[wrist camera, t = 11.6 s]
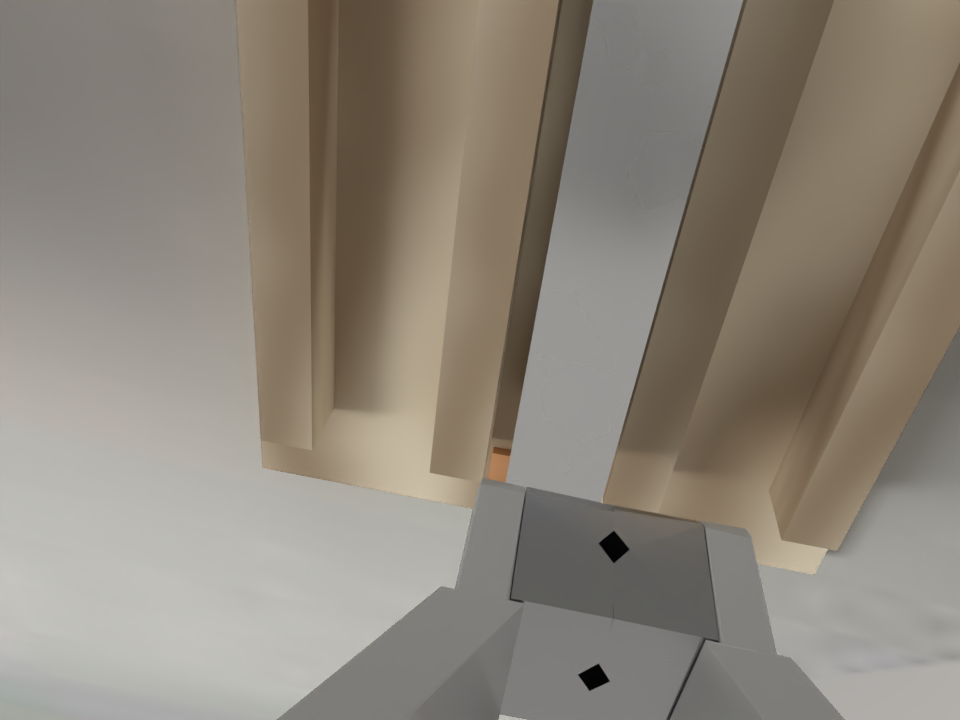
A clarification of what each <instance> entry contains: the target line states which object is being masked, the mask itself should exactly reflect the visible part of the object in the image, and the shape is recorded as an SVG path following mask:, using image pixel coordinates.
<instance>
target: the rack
mask: <svg viewBox="0 0 960 720" xmlns="http://www.w3.org/2000/svg"><path fill="white" fill-rule="evenodd" d="M592 4H593V0H236V16H237V33H238V50H239V68H240V85H241V103H242V120H243V137H244V155H245V172H246V190H247V207H248V224H249V242H250V259H251V277H252V294H253V311H254V329H255V346H256V364H257V381H258V398H259V416H260V433H261V451H262V468H266V469H271V470H276V471H281V472H287V473H292V474H297V475H302V476H307V477H312V478H318V479H323V480H328V481H333V482H338V483H343V484H348V485H354V486H359V487H364V488H369V489H374V490H379V491H385V492H390V493H395V494H400V495H405V496H410V497H416V498H421V499H426V500H431V501H436V502H441V503H446V504H452V505H457V506H462V507H467V508H472V509H473V508H474V503H475V499H476V495H477V490H478V486H479V484H480V482H481V480H482V478H487V479H491V480H496V481H500V482H505V483H506V477H507V472H508V466H509V460H510V455H511V449H512V444H513V438H514V433H515V427H516V422H517V416H518V410H519V405H520V399H521V394H522V388H523V383H524V377H525V372H526V366H527V361H528V355H529V350H530V344H531V339H532V333H533V328H534V322H535V317H536V311H537V306H538V300H539V295H540V289H541V284H542V278H543V273H544V267H545V262H546V256H547V251H548V245H549V240H550V234H551V229H552V223H553V218H554V212H555V207H556V202H557V196H558V191H559V185H560V180H561V174H562V169H563V163H564V158H565V152H566V147H567V141H568V136H569V130H570V125H571V119H572V114H573V108H574V103H575V97H576V92H577V86H578V81H579V75H580V70H581V64H582V59H583V53H584V48H585V42H586V37H587V31H588V26H589V20H590V15H591V9H592ZM959 327H960V0H743V3H742V6H741V10H740V13H739V17H738V21H737V24H736V28H735V31H734V35H733V38H732V42H731V45H730V49H729V52H728V56H727V59H726V63H725V67H724V70H723V74H722V77H721V81H720V84H719V88H718V91H717V95H716V98H715V102H714V105H713V109H712V113H711V116H710V120H709V123H708V127H707V130H706V134H705V137H704V141H703V144H702V148H701V151H700V155H699V159H698V162H697V166H696V169H695V173H694V176H693V180H692V183H691V187H690V190H689V194H688V197H687V201H686V205H685V208H684V212H683V215H682V219H681V222H680V226H679V229H678V233H677V236H676V240H675V243H674V247H673V251H672V254H671V258H670V261H669V265H668V268H667V272H666V275H665V279H664V282H663V286H662V290H661V293H660V297H659V300H658V304H657V307H656V311H655V314H654V318H653V321H652V325H651V328H650V332H649V336H648V339H647V343H646V346H645V350H644V353H643V357H642V360H641V364H640V367H639V371H638V374H637V378H636V382H635V385H634V389H633V392H632V396H631V399H630V403H629V406H628V410H627V413H626V417H625V420H624V424H623V428H622V431H621V435H620V438H619V442H618V445H617V449H616V452H615V456H614V459H613V463H612V466H611V470H610V474H609V477H608V481H607V484H606V488H605V491H604V495H603V498H602V502H601V503H605V504H610V505H616V506H621V507H626V508H632V509H637V510H643V511H648V512H653V513H659V514H664V515H669V516H675V517H680V518H685V519H691V520H696V521H698V522H700V521H705V522H711V523H716V524H722V525H728V526H733V527H739V528H745V529H746V530H747V531H748V532H749V534H750V535H751V537H752V541H753V546H754V551H755V555H756V560H757V564H761V565H766V566H771V567H777V568H782V569H787V570H792V571H797V572H802V573H808V574H813V575H814V574H815V573H816V571H817V569H818V567H819V565H820V563H821V561H822V560H823V558H824V556H825V554H826V552H827V550H828V549H830V550H835V551H837V550H838V548H839V547H840V545H841V543H842V541H843V539H844V537H845V536H846V534H847V532H848V530H849V528H850V526H851V525H852V523H853V521H854V519H855V517H856V515H857V514H858V512H859V510H860V508H861V506H862V504H863V503H864V501H865V499H866V497H867V495H868V494H869V492H870V490H871V488H872V486H873V484H874V483H875V481H876V479H877V477H878V475H879V473H880V472H881V470H882V468H883V466H884V464H885V462H886V461H887V459H888V457H889V455H890V453H891V452H892V450H893V448H894V446H895V444H896V442H897V441H898V439H899V437H900V435H901V433H902V431H903V430H904V428H905V426H906V424H907V422H908V420H909V419H910V417H911V415H912V413H913V411H914V409H915V408H916V406H917V404H918V402H919V400H920V399H921V397H922V395H923V393H924V391H925V389H926V388H927V386H928V384H929V382H930V380H931V378H932V377H933V375H934V373H935V371H936V369H937V367H938V366H939V364H940V362H941V360H942V358H943V356H944V355H945V353H946V351H947V349H948V347H949V346H950V344H951V342H952V340H953V338H954V336H955V335H956V333H957V331H958V329H959Z"/></svg>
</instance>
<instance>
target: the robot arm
mask: <svg viewBox="0 0 960 720" xmlns="http://www.w3.org/2000/svg"><path fill="white" fill-rule="evenodd" d="M500 714H501V715H506V716H512V717H517V718H522V719H528V720H845V719H844V718H843V717H842V716H841V715H840V713H838V711H837V710H836V709H835V708H834V707H833V705H832V704H831V703H830V702H829V701H828V700H827V698H826V697H825V696H824V695H823V694H822V693H821V692H820V690H819V689H818V688H817V687H816V686H815V685H814V684H813V682H812V681H811V680H810V679H809V678H808V677H807V675H806V674H805V673H804V672H803V671H802V670H801V668H800V667H799V666H798V665H797V664H796V663H795V662H794V660H793V659H792V658H789V657H784V656H780V655H777V654H776V649H775V644H774V640H773V635H772V630H771V626H770V621H769V616H768V612H767V607H766V602H765V598H764V593H763V588H762V583H761V579H760V574H759V569H758V565H757V560H756V555H755V551H754V546H753V541H752V537H751V535H750V534H749V532H748V531H747V530H746V529H745V528H739V527H733V526H728V525H722V524H716V523H711V522H705V521H700V522H698V521H696V520H691V519H685V518H680V517H675V516H669V515H664V514H659V513H653V512H648V511H643V510H637V509H632V508H626V507H621V506H616V505H610V504H605V503H600V502H596V501H591V500H587V499H582V498H578V497H573V496H568V495H564V494H559V493H555V492H550V491H545V490H541V489H536V488H532V487H526V491H525V487H523V486H518V485H514V484H509V483H505V482H500V481H496V480H491V479H487V478H482V480H481V482H480V484H479V486H478V490H477V495H476V499H475V503H474V508H473V512H472V516H471V521H470V525H469V529H468V534H467V538H466V542H465V547H464V551H463V555H462V560H461V564H460V568H459V573H458V577H457V581H456V586H455V589H453V588H447V587H442V586H441V587H440V588H439V589H437V590H436V591H435V592H434V593H433V594H431V595H430V596H429V597H428V598H426V599H425V600H424V601H423V602H421V603H420V604H419V605H418V606H416V607H415V608H414V609H413V610H412V611H410V612H409V613H408V614H407V615H405V616H404V617H403V618H402V619H400V620H399V621H398V622H397V623H395V624H394V625H393V626H392V627H391V628H389V629H388V630H387V631H386V632H384V633H383V634H382V635H381V636H379V637H378V638H377V639H376V640H375V641H373V642H372V643H371V644H370V645H368V646H367V647H366V648H365V649H363V650H362V651H361V652H360V653H358V654H357V655H356V656H355V657H354V658H352V659H351V660H350V661H349V662H347V663H346V664H345V665H344V666H342V667H341V668H340V669H339V670H337V671H336V672H335V673H334V674H333V675H331V676H330V677H329V678H328V679H326V680H325V681H324V682H323V683H321V684H320V685H319V686H318V687H317V688H315V689H314V690H313V691H312V692H310V693H309V694H308V695H307V696H305V697H304V698H303V699H302V700H300V701H299V702H298V703H297V704H296V705H294V706H293V707H292V708H291V709H289V710H288V711H287V712H286V713H284V714H283V715H282V716H281V717H279V718H278V719H277V720H498V719H499V715H500Z"/></svg>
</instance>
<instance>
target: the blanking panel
mask: <svg viewBox="0 0 960 720" xmlns="http://www.w3.org/2000/svg"><path fill="white" fill-rule="evenodd" d="M742 3H743V0H593V4H592V9H591V15H590V20H589V26H588V31H587V37H586V42H585V48H584V53H583V59H582V64H581V70H580V75H579V81H578V86H577V92H576V97H575V103H574V108H573V114H572V119H571V125H570V130H569V136H568V141H567V147H566V152H565V158H564V163H563V169H562V174H561V180H560V185H559V191H558V196H557V202H556V207H555V212H554V218H553V223H552V229H551V234H550V240H549V245H548V251H547V256H546V262H545V267H544V273H543V278H542V284H541V289H540V295H539V300H538V306H537V311H536V317H535V322H534V328H533V333H532V339H531V344H530V350H529V355H528V361H527V366H526V372H525V377H524V383H523V388H522V394H521V399H520V405H519V410H518V416H517V422H516V427H515V433H514V438H513V444H512V449H511V455H510V460H509V466H508V472H507V477H506V483H509V484H514V485H518V486H523V487H525V491H526V487H532V488H536V489H541V490H545V491H550V492H555V493H559V494H564V495H568V496H573V497H578V498H582V499H587V500H591V501H596V502H600V503H601V502H602V498H603V495H604V491H605V488H606V484H607V481H608V477H609V474H610V470H611V466H612V463H613V459H614V456H615V452H616V449H617V445H618V442H619V438H620V435H621V431H622V428H623V424H624V420H625V417H626V413H627V410H628V406H629V403H630V399H631V396H632V392H633V389H634V385H635V382H636V378H637V374H638V371H639V367H640V364H641V360H642V357H643V353H644V350H645V346H646V343H647V339H648V336H649V332H650V328H651V325H652V321H653V318H654V314H655V311H656V307H657V304H658V300H659V297H660V293H661V290H662V286H663V282H664V279H665V275H666V272H667V268H668V265H669V261H670V258H671V254H672V251H673V247H674V243H675V240H676V236H677V233H678V229H679V226H680V222H681V219H682V215H683V212H684V208H685V205H686V201H687V197H688V194H689V190H690V187H691V183H692V180H693V176H694V173H695V169H696V166H697V162H698V159H699V155H700V151H701V148H702V144H703V141H704V137H705V134H706V130H707V127H708V123H709V120H710V116H711V113H712V109H713V105H714V102H715V98H716V95H717V91H718V88H719V84H720V81H721V77H722V74H723V70H724V67H725V63H726V59H727V56H728V52H729V49H730V45H731V42H732V38H733V35H734V31H735V28H736V24H737V21H738V17H739V13H740V10H741V6H742Z"/></svg>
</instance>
